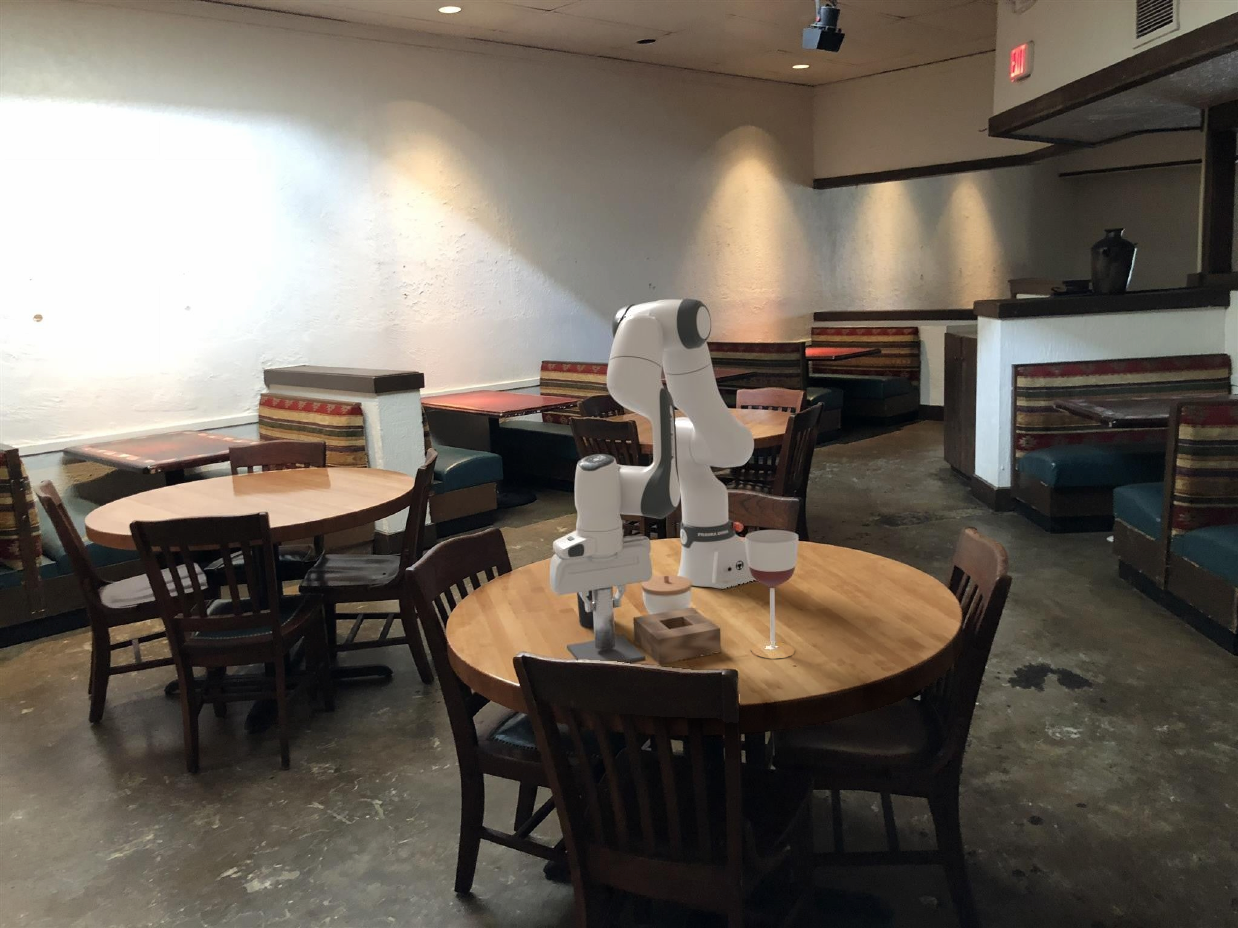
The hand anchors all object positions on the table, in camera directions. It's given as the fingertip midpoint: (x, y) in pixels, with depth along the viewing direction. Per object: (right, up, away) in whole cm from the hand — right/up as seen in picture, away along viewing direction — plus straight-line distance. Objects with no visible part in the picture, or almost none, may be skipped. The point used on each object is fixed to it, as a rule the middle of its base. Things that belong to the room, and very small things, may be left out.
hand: (603, 608), depth 182 cm
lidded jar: (+14, -5, +20) cm, 25 cm away
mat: (0, -9, +2) cm, 9 cm away
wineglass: (+33, -8, 0) cm, 34 cm away
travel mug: (-2, -6, +19) cm, 20 cm away
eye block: (+15, -8, +4) cm, 17 cm away
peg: (0, -7, +1) cm, 8 cm away
